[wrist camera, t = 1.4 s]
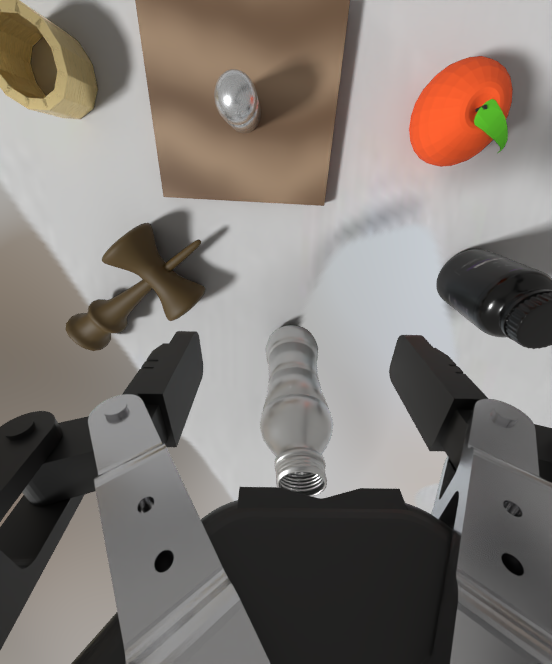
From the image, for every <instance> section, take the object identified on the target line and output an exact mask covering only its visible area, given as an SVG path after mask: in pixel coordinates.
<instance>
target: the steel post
mask: <svg viewBox="0 0 552 664" xmlns="http://www.w3.org/2000/svg"><path fill="white" fill-rule="evenodd" d="M214 98H215V104H216V107H217V109H218V111H219V113H220V115H221V116H222V117H223V119H224V120H225V121H226V122H227V123H228V124H229V125H230V126H231V127H232V128H233V129H234V130H236V131H237V132H239V133H250V132H252V131H253V130H254V129H255V128H256V127H257V125H258V124H259V121H260V117H261V109H260V104H259V100H258V97H257V93H256V89H255V86H254V84H253V82H252V80H251V79H250V78H249V76H248V75H247V74H245V73H244V72H242V71H240V70H237V69H230V70H227V71H225V72H224V73H223V74H221V76H220V77H219V78H218V80H217V82H216V85H215V91H214Z"/></svg>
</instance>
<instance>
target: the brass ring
mask: <svg viewBox="0 0 552 664" xmlns="http://www.w3.org/2000/svg"><path fill="white" fill-rule="evenodd" d="M42 37H44V38H45V40H46V41H47V43H48V44H49V46H50V47H51V49H52V53H53V57H54V60H55V64H56V68H57V76H56V82H55V88H54V90H53V91H52V92H51V93H49V94H48V95H47V96H45V94H44V93H43V91H42V90H41V89H40V87H39V86H38V85H37V83H36V81H35V77H34V74H33V71H32V67H31V64H30V62H31V54H32V47H33V45H35V44H36V43H37V42H38V41H39V40H40V39H41V38H42ZM0 88H1V89H2V90H3V92H4V93H5V94H6V95H7V96H9V97H10V98H12V99H13V100H15V101H17V102H18V103H20V104H21V105H23V106H24V107H26V108H28V109H30V110H34V111H38V112H42V113H46V114H50V115H54V116H57V117H61V118H73V119H81V118H82V117H84V116H85V115H86V114H87V113H89V112H90V111H91V110H92V109H93V108H94V104H95V99H96V95H97V91H98V87H97V83H96V78H95V73H94V69H93V64H92V63H91V61H90V60H89V58H88V56H87V55H86V53H85V52H84V50H83V48H82V47H81V45H80V44H79V42H78V41H77V40H76V39H75V38H73V37H72V36H70V35H69V34H68V33H66V32H65V31H64V30H62V29H61V28H59V27H58V26H57V25H55V24H54V23H52V22H51V21H49V20H48V19H46V18H45V17H43V16H42V15H40V14H39V13H37V12H36V11H34V10H33V9H31V8H30V7H28V6H27V5H25V4H24V3H22V2H21V1H19V0H0Z"/></svg>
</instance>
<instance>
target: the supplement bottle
mask: <svg viewBox="0 0 552 664" xmlns="http://www.w3.org/2000/svg"><path fill="white" fill-rule="evenodd" d="M437 291H438V293H439V295H440V297H441V298H442V299H443V300H444V301H446V302H447V303H448V304H449V305H450V306H452V307H453V308H454V309H455V310H457V311H458V312H459V313H460V314H462V315H463V316H464V317H465V318H466V319H468V320H469V321H470V322H471V323H473V324H474V325H475V326H476V327H478V328H479V329H480V330H482V331H483V332H485V333H486V334H489V335H491V336H495V337H508V338H510V339H512V340H514V341H515V342H517V343H518V344H520V345H522V346H523V347H527V348H533V349H535V348H542V347H547V346H550V345H552V278H551V277H550V276H549V275H547V274H545V273H543V272H541V271H539V270H536V269H534V268H531V267H528V266H526V265H523V264H521V263H518V262H516V261H513V260H510V259H508V258H505V257H503V256H500V255H498V254H495V253H492V252H490V251H487V250H483V249H471V250H467V251H464V252H461V253H459V254H457V255H456V256H454V257H453V258H451V259H450V260H449V261H448V262H447V263H446V264H445V265H444V266H443V268H442V269H441V271H440V273H439V275H438V278H437Z"/></svg>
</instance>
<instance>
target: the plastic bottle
mask: <svg viewBox="0 0 552 664" xmlns="http://www.w3.org/2000/svg"><path fill="white" fill-rule="evenodd" d="M266 358H267V362H268V366H269V384H268V391H267V397H266V400H265V404H264V408H263V412H262V416H261V422H260V430H261V433H262V437H263V440H264V442H265V443H266V445H267V446H268V447H269V449H270V450H271V451H272V453H273V454H274V455H275V456H276V459H275V470H276V484H277V488H283V489H286V490H290V491H293V492H297V493H300V494H304V495H308V496H311V497H313V496H316V495H318V494H320V493H321V492H322V491H324V489H325V488H326V485H327V479H326V474H325V461H324V457H323V456H322V453H323V452H324V450H325V449H326V447H327V445H328V443H329V441H330V439H331V436H332V429H333V421H332V417H331V414H330V411H329V408H328V406H327V403H326V401H325V398H324V396H323V393H322V391H321V387H320V383H319V380H318V376H317V358H318V347H317V343H316V341H315V339H314V337H313V336H312V334H311V333H310V332H309V331H308V330H307V329H305V328H303V327H300V326H295V325H288V326H283V327H281V328H279V329H277V330H275V331H274V332H273V333H272V334H271V336H270V337H269V340H268V342H267V345H266Z"/></svg>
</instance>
